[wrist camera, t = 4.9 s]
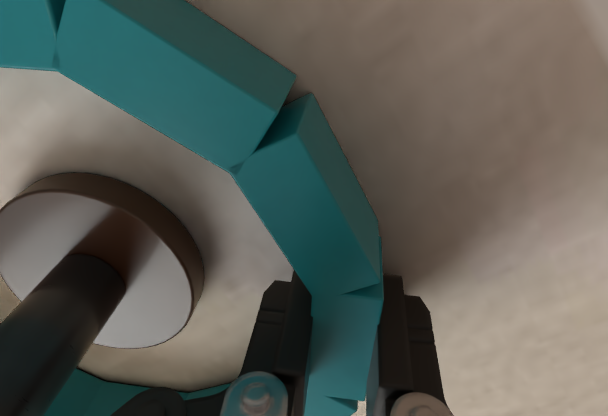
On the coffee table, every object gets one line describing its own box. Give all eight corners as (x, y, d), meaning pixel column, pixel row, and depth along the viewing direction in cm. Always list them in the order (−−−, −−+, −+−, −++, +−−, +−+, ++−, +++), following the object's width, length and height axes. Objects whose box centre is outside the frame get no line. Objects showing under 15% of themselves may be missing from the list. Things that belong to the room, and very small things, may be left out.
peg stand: (74, 128, 11) (-146, 271, 6) (244, 273, 13) (175, 464, 8) (-18, 243, 13) (-220, 403, 9) (134, 349, 15) (35, 525, 11)
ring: (-182, -246, 7) (-389, -315, 5) (505, 214, 10) (538, 279, 8) (-154, 289, 16) (-231, 340, 14) (227, 457, 19) (210, 520, 17)
